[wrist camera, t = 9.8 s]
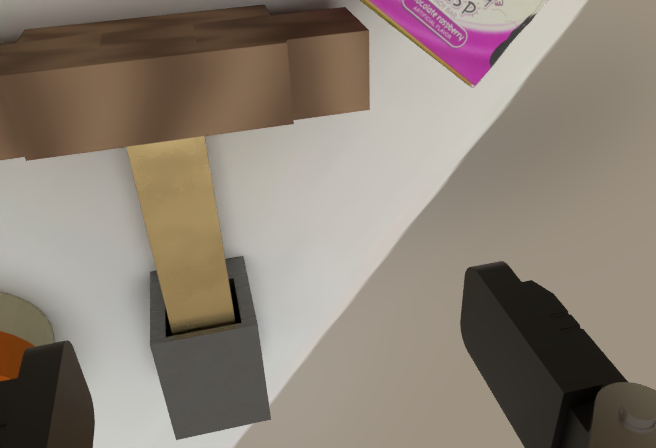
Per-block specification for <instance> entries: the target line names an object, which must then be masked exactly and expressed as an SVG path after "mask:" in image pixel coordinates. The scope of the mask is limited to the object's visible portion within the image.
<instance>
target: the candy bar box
mask: <svg viewBox="0 0 656 448" xmlns="http://www.w3.org/2000/svg"><path fill="white" fill-rule="evenodd" d="M360 1H361V2H363V3H364V4H365V5H367V6H368V7H369V8H370V9H372V10H373V11H374V12H375V13H377V14H378V15H379V16H380V17H381V18H383V19H384V20H385V21H387V22H388V23H389V24H390V25H392V26H393V27H394V28H396V29H397V30H398V31H399V32H401V33H402V34H403V35H405V36H406V37H407V38H409V39H410V40H411V41H412V42H414V43H415V44H416V45H417V46H419V47H420V48H421V49H423V50H424V51H425V52H426V53H428V54H429V55H430V56H432V57H433V58H434V59H435V60H437V61H438V62H439V63H441V64H442V65H443V66H445V67H446V68H447V69H448V70H450V71H451V72H452V73H453V74H455V75H456V76H457V77H458V78H460V79H461V80H462V81H463V82H465V83H466V84H467V85H468V86H470V87H472V88H474V87H475V86H476V85H477V84H478V82H479V81H480V80H481V79H482V78H483V77H484V75H485V74H486V73H487V72H488V71H489V70H490V69H491V67H492V66H493V65H494V64H495V62H496V61H497V60H498V58H499V57H500V56H501V55H502V54H503V52H504V51H505V50H506V48H507V47H508V46H509V44H510V43H511V42H512V41H513V40H514V39H515V38H516V36H517V35H518V34H519V33H520V32H521V31H522V30H523V29H524V28H525V27H526V26H527V25H528V24H529V23H530V22H531V21H532V19H533V18H534V16H535V15H536V14H537V13H538V12H539V11H540V9H541V8H542V7H543V6H544V5H545V4H546V3H547V1H548V0H360Z"/></svg>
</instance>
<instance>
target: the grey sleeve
mask: <svg viewBox="0 0 656 448" xmlns="http://www.w3.org/2000/svg"><path fill="white" fill-rule="evenodd" d="M225 262H226V268H227V274H228V280H229V286H230V292H231V298H232V304H233V310H234V316H235V322H236V324H233V325H228V326H222V327H217V328H212V329H206V330H201V331H196V332H191V333H185V334H180V335H175V336H173V335H172V331H171V327H170V323H169V319H168V315H167V310H166V306H165V302H164V298H163V294H162V290H161V286H160V282H159V278H158V274H157V271H154V272H150V347H151V350H152V354H153V358H154V361H155V365H156V368H157V372H158V376H159V379H160V383H161V387H162V390H163V394H164V397H165V401H166V405H167V408H168V412H169V416H170V419H171V423H172V427H173V430H174V434H175V437H176V440H178V439H183V438H188V437H192V436H197V435H201V434H206V433H211V432H215V431H220V430H224V429H229V428H234V427H238V426H243V425H247V424H252V423H256V422H261V421H266V420H271V416H270V409H269V402H268V395H267V388H266V381H265V374H264V367H263V360H262V353H261V346H260V339H259V332H258V325H257V320H256V315H255V310H254V306H253V301H252V296H251V291H250V286H249V281H248V277H247V272H246V267H245V262H244V257H243V256H242V257H236V258H230V259H225Z"/></svg>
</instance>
